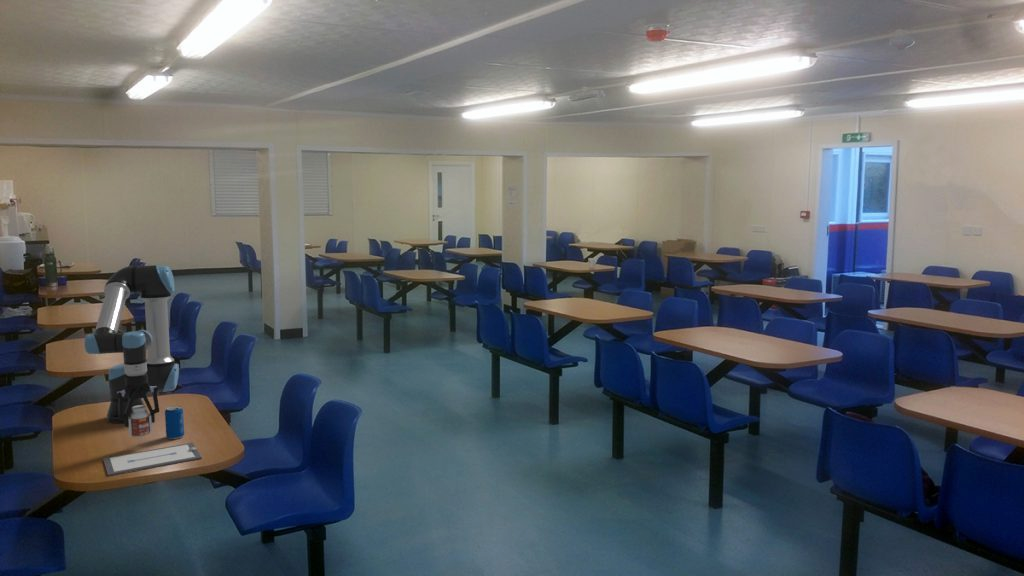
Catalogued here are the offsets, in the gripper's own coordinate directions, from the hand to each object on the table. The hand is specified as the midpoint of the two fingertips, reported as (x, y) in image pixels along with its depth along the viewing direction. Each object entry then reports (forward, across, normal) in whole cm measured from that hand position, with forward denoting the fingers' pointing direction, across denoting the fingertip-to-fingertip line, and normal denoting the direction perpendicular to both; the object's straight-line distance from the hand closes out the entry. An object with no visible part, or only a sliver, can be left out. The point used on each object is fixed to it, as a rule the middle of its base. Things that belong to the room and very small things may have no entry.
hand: (140, 432), depth 276 cm
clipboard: (+6, +2, -15) cm, 16 cm away
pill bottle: (+1, 0, 0) cm, 1 cm away
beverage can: (+7, +13, +6) cm, 16 cm away
